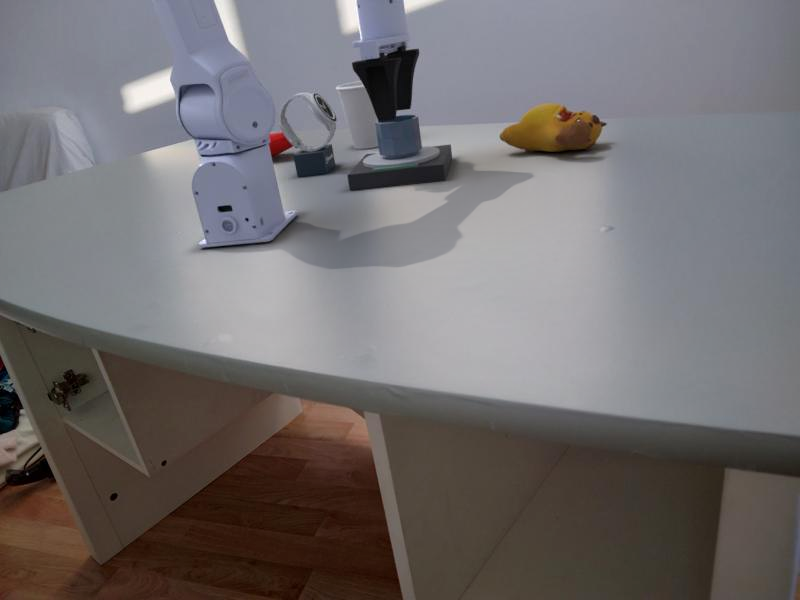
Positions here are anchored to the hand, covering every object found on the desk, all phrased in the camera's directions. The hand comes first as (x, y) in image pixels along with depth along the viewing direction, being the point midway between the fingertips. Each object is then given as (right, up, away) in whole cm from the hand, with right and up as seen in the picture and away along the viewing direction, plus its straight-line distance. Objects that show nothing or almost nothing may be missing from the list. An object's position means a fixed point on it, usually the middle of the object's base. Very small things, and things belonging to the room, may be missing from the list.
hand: (395, 114), depth 81 cm
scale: (+1, -7, +3) cm, 8 cm away
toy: (+21, -4, +3) cm, 22 cm away
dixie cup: (-4, +2, +26) cm, 27 cm away
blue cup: (+1, -5, +2) cm, 5 cm away
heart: (-22, 0, +28) cm, 36 cm away
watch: (-11, -5, +13) cm, 18 cm away
